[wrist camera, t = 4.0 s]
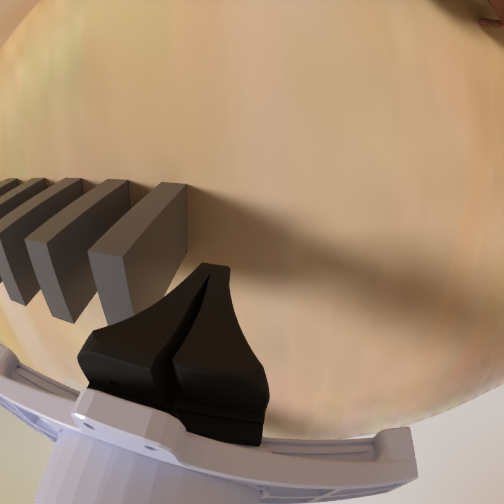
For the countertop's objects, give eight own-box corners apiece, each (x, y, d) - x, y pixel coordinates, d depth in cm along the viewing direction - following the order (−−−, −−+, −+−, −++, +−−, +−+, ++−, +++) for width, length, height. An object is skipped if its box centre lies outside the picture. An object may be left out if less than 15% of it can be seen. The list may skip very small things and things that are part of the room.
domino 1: (54, 232, 20) (-8, 291, 13) (42, 230, 20) (-19, 286, 13) (44, 177, 17) (-32, 227, 10) (32, 178, 17) (-41, 225, 10)
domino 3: (134, 244, 20) (73, 324, 13) (115, 241, 20) (52, 316, 13) (128, 179, 17) (46, 243, 10) (107, 179, 17) (24, 239, 10)
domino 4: (186, 252, 20) (141, 343, 12) (164, 248, 20) (111, 335, 12) (186, 184, 17) (122, 256, 10) (161, 182, 17) (87, 250, 10)
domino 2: (90, 237, 20) (25, 306, 13) (74, 235, 20) (11, 299, 13) (81, 178, 17) (-2, 233, 10) (65, 177, 17) (-16, 230, 10)
